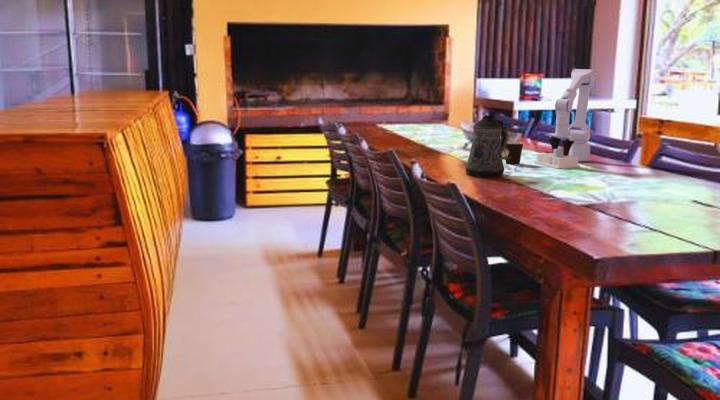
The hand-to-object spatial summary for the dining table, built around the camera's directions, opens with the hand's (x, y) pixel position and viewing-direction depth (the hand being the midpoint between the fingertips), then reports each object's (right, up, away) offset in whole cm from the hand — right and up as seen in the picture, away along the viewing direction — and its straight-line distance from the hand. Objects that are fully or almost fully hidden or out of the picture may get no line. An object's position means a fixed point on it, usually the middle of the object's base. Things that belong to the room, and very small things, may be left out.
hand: (560, 154), depth 313 cm
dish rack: (-1, -5, +3) cm, 6 cm away
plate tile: (0, -4, +1) cm, 4 cm away
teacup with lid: (-24, 0, +27) cm, 36 cm away
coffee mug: (-21, -4, +8) cm, 23 cm away
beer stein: (-39, -10, -22) cm, 46 cm away
